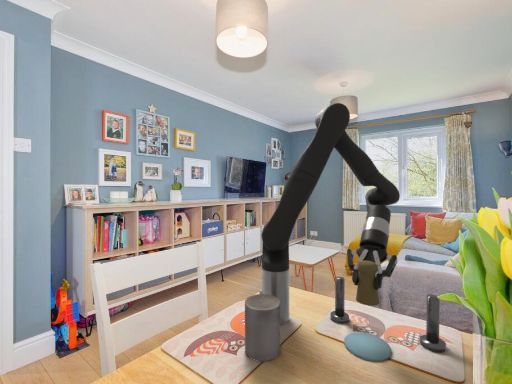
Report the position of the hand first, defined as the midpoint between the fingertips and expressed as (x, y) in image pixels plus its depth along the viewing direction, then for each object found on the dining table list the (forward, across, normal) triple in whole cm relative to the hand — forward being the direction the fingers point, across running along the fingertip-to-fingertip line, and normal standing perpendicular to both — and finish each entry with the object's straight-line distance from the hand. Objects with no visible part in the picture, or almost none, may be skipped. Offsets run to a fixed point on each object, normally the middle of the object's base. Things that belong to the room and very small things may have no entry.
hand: (365, 285), depth 71 cm
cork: (+2, 0, +5) cm, 5 cm away
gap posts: (+4, +2, +22) cm, 22 cm away
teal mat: (+11, 0, +14) cm, 18 cm away
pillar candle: (+24, -23, +1) cm, 33 cm away
